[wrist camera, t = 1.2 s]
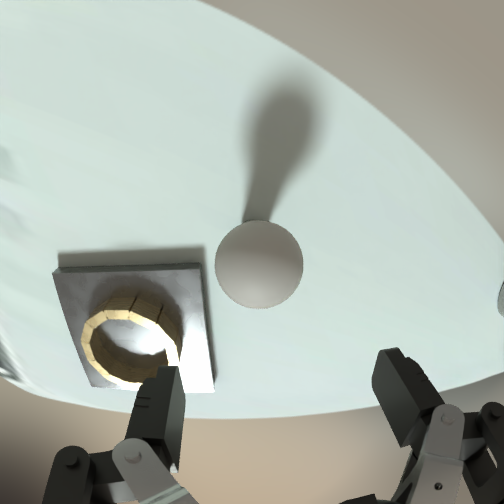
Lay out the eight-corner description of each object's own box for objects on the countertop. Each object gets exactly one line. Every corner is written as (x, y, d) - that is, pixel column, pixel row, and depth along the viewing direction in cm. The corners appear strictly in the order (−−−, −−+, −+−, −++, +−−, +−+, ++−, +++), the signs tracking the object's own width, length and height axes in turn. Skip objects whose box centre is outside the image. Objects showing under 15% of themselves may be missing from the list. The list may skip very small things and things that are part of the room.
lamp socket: (200, 262, 30) (196, 281, 27) (214, 383, 36) (213, 407, 32) (58, 267, 30) (40, 284, 26) (94, 378, 35) (85, 399, 32)
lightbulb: (280, 193, 28) (308, 228, 18) (288, 255, 31) (315, 317, 20) (213, 204, 28) (202, 246, 18) (225, 265, 31) (223, 332, 20)
